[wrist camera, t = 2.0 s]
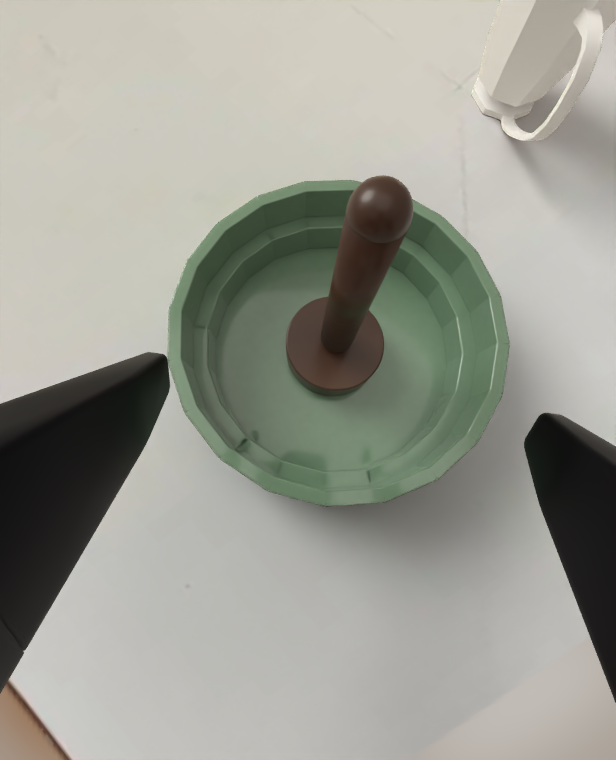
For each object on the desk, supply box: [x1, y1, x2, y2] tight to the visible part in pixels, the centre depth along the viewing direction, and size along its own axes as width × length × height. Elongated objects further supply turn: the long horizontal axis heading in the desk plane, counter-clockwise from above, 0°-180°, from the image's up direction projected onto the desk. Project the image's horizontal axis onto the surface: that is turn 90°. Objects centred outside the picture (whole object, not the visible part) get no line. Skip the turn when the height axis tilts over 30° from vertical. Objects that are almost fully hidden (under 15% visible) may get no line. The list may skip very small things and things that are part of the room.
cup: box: [471, 0, 616, 141], centre depth 21 cm, size 7×10×8 cm
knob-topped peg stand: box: [286, 176, 413, 396], centre depth 14 cm, size 5×5×12 cm
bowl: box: [168, 180, 509, 507], centre depth 19 cm, size 15×15×4 cm
